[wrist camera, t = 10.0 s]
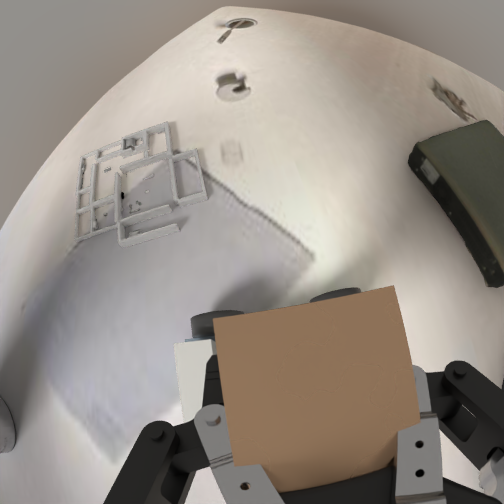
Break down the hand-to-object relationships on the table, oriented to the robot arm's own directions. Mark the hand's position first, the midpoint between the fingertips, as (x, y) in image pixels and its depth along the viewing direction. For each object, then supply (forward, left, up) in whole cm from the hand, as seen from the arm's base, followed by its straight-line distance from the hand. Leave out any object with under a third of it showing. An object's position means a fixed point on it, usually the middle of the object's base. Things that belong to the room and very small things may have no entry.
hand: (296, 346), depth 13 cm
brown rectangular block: (+1, -1, -4) cm, 5 cm away
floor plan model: (-27, +9, -17) cm, 33 cm away
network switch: (+14, +34, -17) cm, 40 cm away
